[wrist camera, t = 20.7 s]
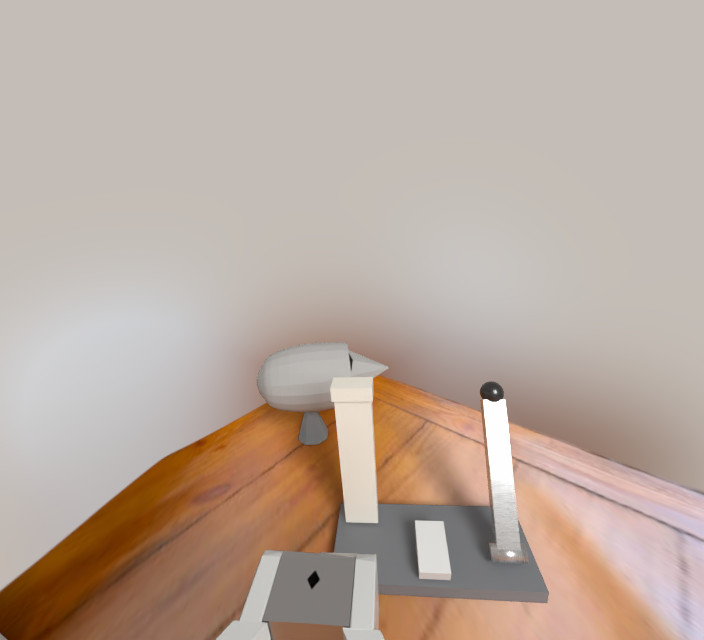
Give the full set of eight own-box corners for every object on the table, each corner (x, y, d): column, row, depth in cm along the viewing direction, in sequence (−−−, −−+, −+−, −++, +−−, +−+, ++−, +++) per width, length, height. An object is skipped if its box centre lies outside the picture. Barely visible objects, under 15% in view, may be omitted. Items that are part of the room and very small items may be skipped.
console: (547, 602, 34) (548, 592, 33) (330, 591, 36) (329, 581, 36) (511, 516, 43) (512, 507, 43) (341, 511, 46) (341, 502, 45)
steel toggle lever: (531, 569, 35) (510, 380, 39) (494, 567, 35) (477, 381, 39) (521, 557, 37) (503, 381, 41) (487, 556, 38) (472, 382, 42)
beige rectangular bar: (379, 526, 41) (372, 388, 35) (343, 525, 42) (330, 388, 36) (379, 509, 44) (372, 376, 37) (346, 508, 44) (333, 377, 38)
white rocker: (451, 580, 35) (452, 573, 34) (418, 578, 35) (418, 572, 35) (443, 527, 39) (444, 521, 39) (414, 526, 40) (414, 520, 39)
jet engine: (362, 479, 51) (354, 376, 45) (256, 449, 59) (238, 358, 53) (392, 422, 63) (389, 336, 58) (302, 403, 72) (291, 326, 66)
